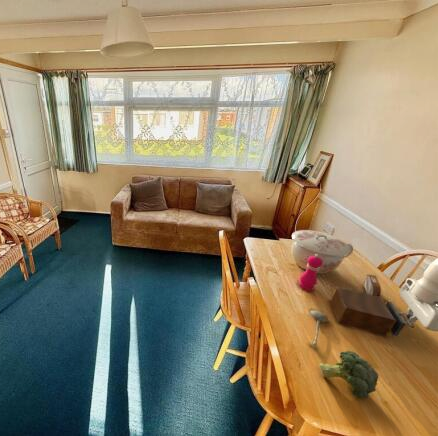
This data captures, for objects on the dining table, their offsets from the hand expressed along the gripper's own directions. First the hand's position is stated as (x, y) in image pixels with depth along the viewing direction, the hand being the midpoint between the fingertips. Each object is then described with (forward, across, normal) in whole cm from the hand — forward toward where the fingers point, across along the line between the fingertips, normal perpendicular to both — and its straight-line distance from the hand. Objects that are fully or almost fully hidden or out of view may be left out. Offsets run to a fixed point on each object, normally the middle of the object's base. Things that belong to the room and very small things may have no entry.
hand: (409, 319), depth 92 cm
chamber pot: (+8, +36, +26) cm, 45 cm away
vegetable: (+8, -35, +28) cm, 46 cm away
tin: (+7, +21, +4) cm, 23 cm away
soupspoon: (+8, -14, +32) cm, 36 cm away
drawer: (+6, 0, +9) cm, 11 cm away
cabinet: (+7, 0, +15) cm, 17 cm away
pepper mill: (+8, +14, +32) cm, 36 cm away
